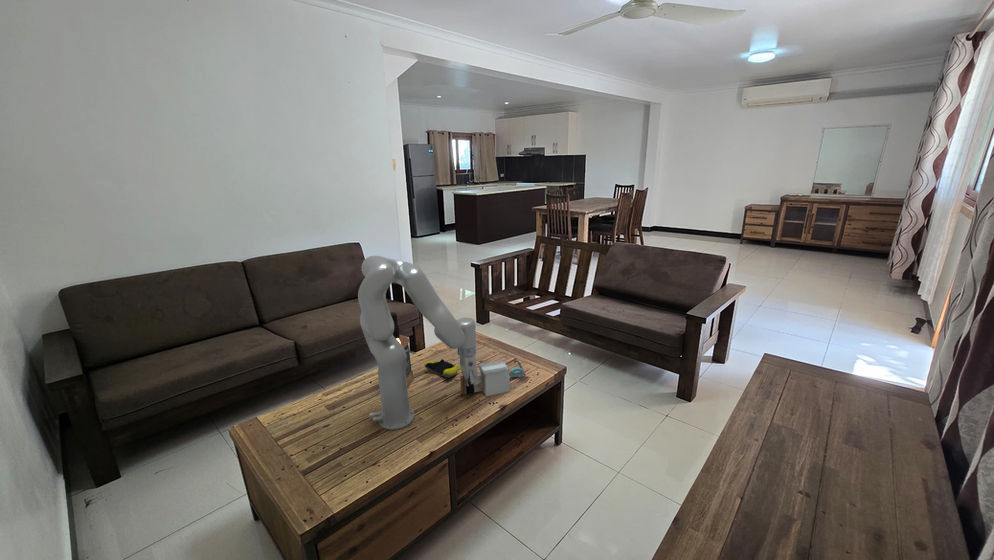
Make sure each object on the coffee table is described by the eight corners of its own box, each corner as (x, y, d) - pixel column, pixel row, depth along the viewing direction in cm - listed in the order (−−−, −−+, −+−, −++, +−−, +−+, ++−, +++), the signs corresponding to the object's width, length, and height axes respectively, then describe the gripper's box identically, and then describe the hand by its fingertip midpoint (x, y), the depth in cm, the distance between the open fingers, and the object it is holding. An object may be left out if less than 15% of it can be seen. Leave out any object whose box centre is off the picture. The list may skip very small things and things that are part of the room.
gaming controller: (447, 384, 169) (463, 374, 177) (446, 372, 168) (462, 362, 175) (423, 373, 178) (439, 364, 186) (422, 362, 176) (438, 353, 184)
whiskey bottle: (405, 391, 164) (398, 318, 155) (383, 389, 166) (374, 317, 157) (414, 377, 174) (408, 309, 165) (393, 376, 176) (385, 308, 166)
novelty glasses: (492, 382, 170) (492, 371, 169) (488, 365, 184) (488, 355, 183) (524, 379, 172) (524, 368, 170) (518, 362, 186) (518, 352, 185)
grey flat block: (462, 394, 159) (461, 378, 157) (461, 391, 161) (460, 376, 159) (503, 386, 164) (503, 371, 162) (502, 383, 166) (502, 368, 164)
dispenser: (485, 396, 159) (484, 374, 156) (479, 386, 167) (478, 364, 164) (509, 391, 162) (509, 369, 159) (503, 381, 170) (502, 360, 167)
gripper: (482, 357, 149) (483, 399, 154) (470, 339, 164) (472, 378, 170) (462, 360, 147) (464, 403, 152) (452, 341, 162) (455, 381, 167)
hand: (468, 389), depth 161 cm, fingers open, 4 cm apart
